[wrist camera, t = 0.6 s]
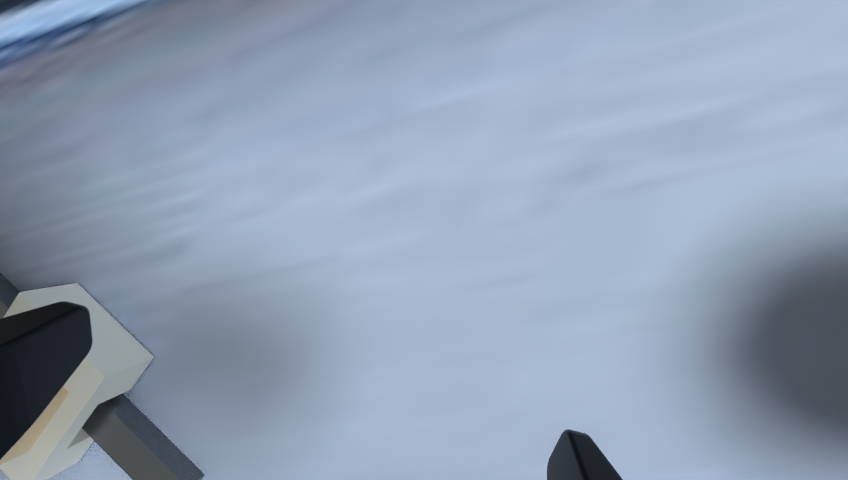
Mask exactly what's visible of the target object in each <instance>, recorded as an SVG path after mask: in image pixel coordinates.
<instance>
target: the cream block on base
mask: <svg viewBox="0 0 848 480" xmlns="http://www.w3.org/2000/svg"><path fill="white" fill-rule="evenodd" d="M61 301H68V302H72V303H76V304H79V305H83V306H85V307H87V308H88V310H89V312H90V320H91V329H92V338H93V342H92V347H91V349H90V351H89V353H88V355H87V356H86V357H85V359H84V360H83V361H82V363H81V364H80V365H79V366H78V368H77V369H76V370H75V372H74V373H73V374H72V375H71V377H70V378H69V379H68V381H67V382H66V383H65V384H64V386H63V387H62V388H61V390H60V391H59V392H58V393H57V395H56V396H55V397H54V399H53V400H52V401H51V402H50V404H49V405H48V406H47V408H46V409H45V410H44V411H43V413H42V414H41V415H40V416H39V418H38V419H37V420H36V421H35V422H34V424H33V425H32V426H31V427H30V428H29V429H28V431H27V432H26V433H25V434H24V435H23V436H22V437H21V438H20V439H19V441H18V442H17V443H16V444H15V445H14V446H13V447H12V448H11V449H10V450H9V451H8V452H7V453H6V454H5V455H4V457H3V458H2V459H1V460H0V469H1V470H2V471H3V472H4V473H5V474H6V476H7V477H8V478H9V479H10V480H47V479H49V478H51V477H52V476H54V475H56V474H58V473H59V472H61V471H63V470H65V469H66V468H68V467H70V466H72V465H73V464H75V463H77V462H79V461H80V459H81V458H82V456H83V455H84V454H85V452H86V451H87V449H88V448H89V447H90V445H91V444H92V443H93V441H94V440H93V439H92V438H91V437H90V436H89V435H88V434H87V433H86V432H85V431H84V430H83V429H82V426H83V425H84V423H85V422H86V421H87V419H88V418H89V416H90V415H91V414H92V412H93V411H94V409H95V408H96V407H97V405H98V404H100V403H103V402H105V401H107V400H109V399H111V398H113V397H116V396H118V395H120V394H122V393H124V392H127V391H129V390H131V388H132V387H133V386H134V384H135V383H136V382H137V380H138V379H139V377H140V376H141V375H142V373H143V372H144V370H145V369H146V368H147V366H148V365H149V364H150V362H151V361H152V359H153V358H154V357H153V356H152V355H151V354H150V353H149V352H148V351H147V350H146V349H145V348H144V347H143V346H142V345H141V344H140V343H139V342H138V341H137V340H136V339H135V338H134V337H133V336H132V335H131V334H130V333H129V332H128V331H126V330H125V329H124V328H123V327H122V326H121V325H120V324H119V323H118V322H117V321H116V320H115V319H114V318H113V317H112V316H111V315H110V314H109V313H108V312H107V311H106V310H105V309H104V308H103V307H102V306H101V305H100V304H99V303H97V302H96V301H95V300H94V299H93V298H92V297H91V296H90V295H89V294H88V293H87V292H86V291H85V290H84V289H83V288H82V287H81V286H80V285H79V284H78V283H73V284H67V285H61V286H54V287H48V288H42V289H36V290H29V291H23V292H19V294H18V295H17V297H16V298H15V300H14V301H13V303H12V305H11V306H10V308H9V309H8V311H7V313H6V314H5V316H4V317H8V316H11V315H15V314H18V313H22V312H25V311H29V310H32V309H36V308H39V307H43V306H46V305H50V304H53V303H57V302H61ZM4 317H3V318H4Z"/></svg>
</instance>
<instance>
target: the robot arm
mask: <svg viewBox="0 0 848 480" xmlns="http://www.w3.org/2000/svg"><path fill="white" fill-rule="evenodd" d="M92 342H93V338H92V329H91V320H90V312H89V310H88V308H87V307H85V306H83V305H79V304H76V303H72V302H68V301H61V302H57V303H53V304H50V305H46V306H43V307H39V308H36V309H32V310H29V311H25V312H22V313H18V314H15V315H11V316H8V317H4V318H1V319H0V460H1V459H2V458H3V457H4V455H5V454H6V453H7V452H8V451H9V450H10V449H11V448H12V447H13V446H14V445H15V444H16V443H17V442H18V441H19V439H20V438H21V437H22V436H23V435H24V434H25V433H26V432H27V431H28V429H29V428H30V427H31V426H32V425H33V424H34V422H35V421H36V420H37V419H38V418H39V416H40V415H41V414H42V413H43V411H44V410H45V409H46V408H47V406H48V405H49V404H50V402H51V401H52V400H53V399H54V397H55V396H56V395H57V393H58V392H59V391H60V390H61V388H62V387H63V386H64V384H65V383H66V382H67V381H68V379H69V378H70V377H71V375H72V374H73V373H74V372H75V370H76V369H77V368H78V366H79V365H80V364H81V363H82V361H83V360H84V359H85V357H86V356H87V355H88V353H89V351H90V349H91V347H92ZM547 480H623V479H622V478H621V477H620V476H619V474H618V473H617V472H616V470H615V469H614V468H613V466H612V465H611V464H610V462H609V461H608V460H607V458H606V457H605V456H604V454H603V453H602V452H601V450H600V449H599V448H598V447H597V445H596V444H595V443H594V441H593V440H592V439H591V438H590V436H588V435H587V434H585V433H581V432H577V431H573V430H565V431H564V432H563V433H562V435H561V436H560V438H559V440H558V442H557V444H556V446H555V448H554V450H553V452H552V454H551V456H550V458H549V461H548V466H547Z"/></svg>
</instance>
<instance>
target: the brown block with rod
mask: <svg viewBox="0 0 848 480" xmlns="http://www.w3.org/2000/svg"><path fill="white" fill-rule="evenodd" d="M18 294H19V291H18V290H17V289H16V288H15V287H14V286H13V285H12V284H11V283H10V282H9V281H8V280H7V279H6V278H5V277H4V276H3V275H2V274H1V273H0V319H1V318H3V317H4V316H5V314H6V313H7V311H8V309H9V308H10V306H11V305H12V303H13V301H14V300H15V298H16V297H17V295H18ZM82 429H83V430H84V431H85V432H86V433H87V434H88V435H89V436H90V437H91V438H92V439H93V440H94V441H95V442H96V443H97V444H98V445H99V446H100V447H101V448H102V449H103V450H104V451H105V452H106V453H107V454H108V455H109V456H110V457H111V458H112V459H113V460H114V461H115V462H116V463H117V464H118V465H119V466H120V467H121V468H122V469H123V470H124V471H125V472H126V473H127V474H128V475H129V476H130V477H131V478H132V479H133V480H201V479H202V478H203V476H204V474H203V473H202V472H201V471H200V470H199V469H198V468H197V467H196V466H195V465H194V464H193V463H192V462H191V461H190V460H189V459H188V458H187V457H186V456H185V455H184V454H183V453H182V452H181V451H180V450H179V449H178V448H177V447H176V446H174V445H173V444H172V443H171V442H170V441H169V440H168V439H167V438H166V437H165V436H164V435H163V434H162V433H161V432H160V431H159V430H158V429H157V428H156V427H155V426H154V425H153V424H152V423H151V422H150V421H149V420H148V419H147V418H146V417H145V416H144V415H143V414H142V413H141V412H140V411H139V410H138V409H137V408H136V407H135V406H134V405H133V404H132V403H131V402H130V401H129V400H128V399H127V398H126V397H125V396H124V395H123V394H120V395H118V396H116V397H113V398H111V399H109V400H107V401H105V402H103V403H100V404H98V405H97V407H96V408H95V409H94V411H93V412H92V414H91V415H90V416H89V418H88V419H87V421H86V422H85V423H84V425H83V426H82Z"/></svg>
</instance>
